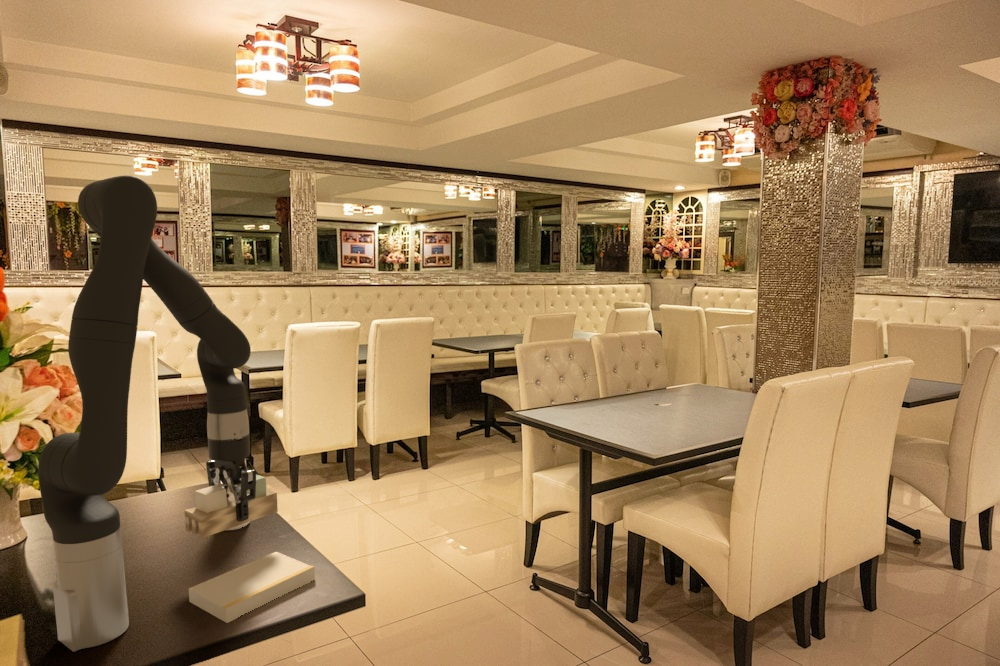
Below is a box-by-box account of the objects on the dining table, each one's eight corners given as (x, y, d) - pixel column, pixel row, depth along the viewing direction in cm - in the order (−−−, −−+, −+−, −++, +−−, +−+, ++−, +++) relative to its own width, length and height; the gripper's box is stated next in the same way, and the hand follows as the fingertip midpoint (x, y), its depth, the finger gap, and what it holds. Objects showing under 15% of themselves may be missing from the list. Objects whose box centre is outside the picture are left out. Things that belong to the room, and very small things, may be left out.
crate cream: (207, 513, 123) (206, 494, 123) (195, 508, 125) (194, 490, 125) (227, 506, 126) (226, 489, 126) (215, 502, 129) (214, 485, 128)
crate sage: (248, 499, 130) (247, 482, 130) (237, 495, 132) (236, 478, 132) (266, 494, 133) (265, 477, 133) (255, 490, 135) (254, 473, 135)
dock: (227, 623, 110) (226, 608, 110) (189, 601, 117) (188, 588, 117) (315, 579, 124) (314, 566, 124) (276, 563, 131) (276, 551, 131)
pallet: (202, 537, 122) (201, 517, 121) (185, 530, 125) (184, 510, 125) (277, 511, 134) (276, 492, 134) (260, 505, 138) (259, 487, 137)
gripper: (190, 432, 129) (195, 514, 131) (231, 443, 121) (236, 531, 122) (226, 424, 135) (230, 503, 137) (267, 434, 127) (271, 518, 128)
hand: (233, 516), depth 130 cm, fingers closed on pallet, 6 cm apart
